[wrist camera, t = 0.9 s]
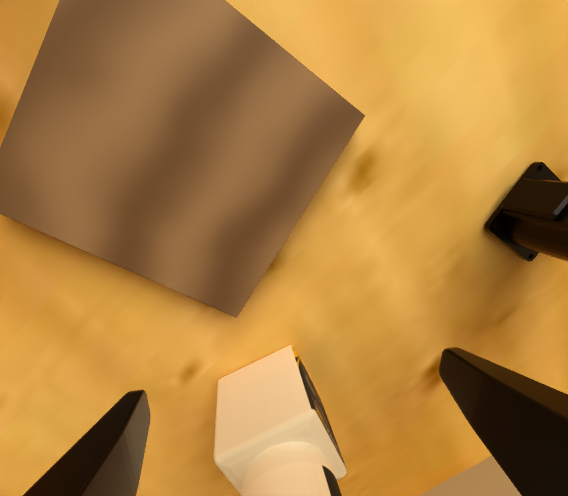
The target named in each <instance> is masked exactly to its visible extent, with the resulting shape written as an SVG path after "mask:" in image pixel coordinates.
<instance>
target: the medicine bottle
mask: <svg viewBox="0 0 568 496" xmlns="http://www.w3.org/2000/svg"><path fill="white" fill-rule="evenodd" d="M214 462H215V464H216V465H217V467H218V468H219V469H220V470H221V471H222V473H223V474H224V475H225V476H226V478H227V479H228V480H229V481H230V483H231V484H232V485H233V486H234V488H235V489H236V490H237V491H238V493H239V494H240V496H341V493H340V490H339V487H338V483H337V480H339V479H341V478H343V477H344V476H345V475H346V473H347V471H346V467H345V464H344V461H343V458H342V456H341V453H340V450H339V448H338V445H337V442H336V440H335V437H334V434H333V431H332V429H331V426H330V423H329V421H328V418H327V415H326V413H325V410H324V407H323V405H322V402H321V399H320V397H319V395H318V393H317V391H316V389H315V387H314V385H313V383H312V381H311V379H310V377H309V375H308V373H307V371H306V369H305V367H304V365H303V363H302V361H301V359H300V358H299V356H298V354H297V352H296V350H295V348H294V347H293V346H292V345H289V346H287V347H285V348H282V349H280V350H278V351H276V352H274V353H272V354H270V355H268V356H266V357H264V358H262V359H260V360H257V361H255V362H253V363H251V364H249V365H247V366H245V367H243V368H241V369H239V370H237V371H235V372H232V373H230V374H228V375H226V376H224V377H222V378H220V379H219V381H218V385H217V404H216V424H215V443H214Z"/></svg>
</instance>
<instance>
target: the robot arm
mask: <svg viewBox="0 0 568 496" xmlns="http://www.w3.org/2000/svg"><path fill="white" fill-rule="evenodd" d="M492 225H493V226H492ZM485 229H486V230H487V231H488V232H489V233H490V234H492V235H493V236H494V237H495V238H497V239H498V240H499V241H501V242H502V243H503V244H504V245H506V246H507V247H508V248H509V249H511V250H512V251H513V252H514V253H516V254H517V255H518V256H519V257H521V258H522V259H523V260H526V261H532V260H533V259H534V258H535V257H536V256H537V255H538V253H543V254H546V255H549V256H552V257H555V258H558V259H562V260H565V261H568V182H565V181H561V180H560V179H559V178H558V177H557V176H556V175H555V174H554V173H553V172H552V171H551V170H550V169H549V168H548V167H547V166H546V165H545V164H544V163H543V162H534V163H532V164H531V165H530V167H529V168H528V169H527V171H526V172H525V173H524V175H523V176H522V177H521V178H520V180H519V181H518V182H517V184H516V185H515V186H514V188H513V189H512V190H511V191H510V193H509V194H508V195H507V197H506V198H505V199H504V200H503V202H502V203H501V204H500V206H499V207H498V208H497V210H496V211H495V212H494V213H493V215H492V216H491V217H490V219H489V220H488V221H487V222H486V224H485ZM439 373H440V376H441V378H442V380H443V382H444V383H445V385H446V387H447V388H448V390H449V391H450V393H451V395H452V396H453V398H454V400H455V401H456V403H457V404H458V406H459V408H460V409H461V411H462V413H463V414H464V416H465V417H466V419H467V421H468V422H469V424H470V425H471V427H472V428H473V429H474V431H475V432H476V434H477V435H478V436H479V438H480V439H481V441H482V442H483V443H484V445H485V446H486V447H487V449H488V450H489V451H490V453H491V454H492V456H493V457H494V458H495V460H496V461H497V462H498V464H499V465H500V466H501V468H502V469H503V471H504V472H505V473H506V475H507V476H508V477H509V479H510V480H511V482H512V483H513V484H514V486H515V487H516V488H517V490H518V491H519V492H520V494H521V495H522V496H568V395H567V394H565V393H563V392H560V391H558V390H556V389H553V388H551V387H549V386H546V385H544V384H542V383H539V382H537V381H535V380H532V379H530V378H528V377H525V376H523V375H521V374H518V373H516V372H514V371H511V370H509V369H507V368H504V367H502V366H500V365H497V364H495V363H493V362H490V361H488V360H486V359H483V358H481V357H479V356H476V355H474V354H472V353H469V352H467V351H465V350H462V349H460V348H456V347H454V348H447V349H444V350H443V352H442V357H441V362H440V366H439ZM149 425H150V409H149V404H148V400H147V395H146V392H145V391H144V390H137V391H130V392H128V393H126V394H125V395H124V396H123V397H122V398H121V399H120V400H119V401H118V402H117V403H116V404H115V405H114V406H113V407H112V408H111V409H110V410H109V411H108V412H107V413H106V414H105V415H104V416H103V417H102V418H101V419H100V420H99V421H98V422H97V423H96V424H95V425H94V426H93V427H92V428H91V429H90V430H89V431H88V432H87V433H86V434H85V435H84V436H83V437H81V438H80V439H79V440H78V441H77V442H76V443H75V444H74V445H73V446H72V447H71V448H70V449H69V450H68V451H67V452H66V453H65V454H64V455H63V456H62V457H61V458H60V459H59V460H58V461H57V462H56V463H55V464H54V465H53V466H52V467H51V468H50V469H49V470H48V471H47V472H46V473H45V474H44V475H43V476H42V477H41V478H40V479H39V480H38V481H37V482H36V483H35V484H34V485H33V486H32V487H31V488H30V489H29V490H28V491H27V492H26V493H25V494H24V495H23V496H136V493H137V489H138V484H139V479H140V474H141V469H142V463H143V458H144V452H145V447H146V441H147V436H148V430H149Z"/></svg>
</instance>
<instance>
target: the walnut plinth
mask: <svg viewBox="0 0 568 496" xmlns="http://www.w3.org/2000/svg"><path fill="white" fill-rule="evenodd" d="M364 117H365V115H364V114H362V113H361V112H360V111H359V110H358V109H356V108H355V107H354V106H353V105H351V104H350V103H349V102H348V101H347V100H345V99H344V98H343V97H342V96H341V95H339V94H338V93H337V92H336V91H334V90H333V89H332V88H331V87H330V86H328V85H327V84H326V83H325V82H324V81H322V80H321V79H320V78H319V77H317V76H316V75H315V74H314V73H313V72H311V71H310V70H309V69H308V68H307V67H305V66H304V65H303V64H302V63H300V62H299V61H298V60H297V59H296V58H294V57H293V56H292V55H291V54H290V53H288V52H287V51H286V50H285V49H283V48H282V47H281V46H280V45H279V44H277V43H276V42H275V41H274V40H273V39H271V38H270V37H269V36H268V35H267V34H265V33H264V32H263V31H262V30H260V29H259V28H258V27H257V26H256V25H254V24H253V23H252V22H251V21H250V20H248V19H247V18H246V17H245V16H243V15H242V14H241V13H240V12H239V11H237V10H236V9H235V8H234V7H233V6H231V5H230V4H229V3H228V2H226V1H225V0H59V3H58V5H57V8H56V10H55V13H54V15H53V18H52V20H51V23H50V25H49V28H48V30H47V33H46V35H45V38H44V40H43V43H42V45H41V48H40V50H39V53H38V55H37V58H36V60H35V63H34V65H33V68H32V70H31V73H30V75H29V78H28V80H27V83H26V85H25V88H24V90H23V93H22V95H21V98H20V100H19V103H18V105H17V108H16V110H15V113H14V115H13V118H12V120H11V123H10V125H9V128H8V130H7V133H6V135H5V138H4V140H3V143H2V145H1V148H0V214H2V215H4V216H6V217H9V218H11V219H13V220H15V221H18V222H20V223H22V224H24V225H27V226H29V227H31V228H34V229H36V230H38V231H40V232H43V233H45V234H47V235H49V236H52V237H54V238H56V239H59V240H61V241H63V242H65V243H68V244H70V245H72V246H74V247H77V248H79V249H81V250H84V251H86V252H88V253H90V254H93V255H95V256H97V257H99V258H102V259H104V260H106V261H109V262H111V263H113V264H115V265H118V266H120V267H122V268H124V269H127V270H129V271H131V272H134V273H136V274H138V275H140V276H143V277H145V278H147V279H149V280H152V281H154V282H156V283H159V284H161V285H163V286H165V287H168V288H170V289H172V290H174V291H177V292H179V293H181V294H184V295H186V296H188V297H190V298H193V299H195V300H197V301H199V302H202V303H204V304H206V305H209V306H211V307H213V308H215V309H218V310H220V311H222V312H224V313H227V314H229V315H231V316H234V317H236V318H237V316H238V315H239V313H240V311H241V310H242V308H243V307H244V305H245V304H246V302H247V300H248V299H249V297H250V296H251V294H252V293H253V291H254V289H255V288H256V286H257V285H258V283H259V282H260V280H261V278H262V277H263V275H264V274H265V272H266V271H267V269H268V267H269V266H270V264H271V263H272V261H273V260H274V258H275V256H276V255H277V253H278V252H279V250H280V249H281V247H282V245H283V244H284V242H285V241H286V239H287V238H288V236H289V234H290V233H291V231H292V230H293V228H294V227H295V225H296V223H297V222H298V220H299V219H300V217H301V216H302V214H303V212H304V211H305V209H306V208H307V206H308V205H309V203H310V201H311V200H312V198H313V197H314V195H315V194H316V192H317V190H318V189H319V187H320V186H321V184H322V183H323V181H324V179H325V178H326V176H327V175H328V173H329V172H330V170H331V168H332V167H333V165H334V164H335V162H336V161H337V159H338V157H339V156H340V154H341V153H342V151H343V150H344V148H345V146H346V145H347V143H348V142H349V140H350V139H351V137H352V135H353V134H354V132H355V131H356V129H357V128H358V126H359V124H360V123H361V121H362V120H363V118H364Z"/></svg>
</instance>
